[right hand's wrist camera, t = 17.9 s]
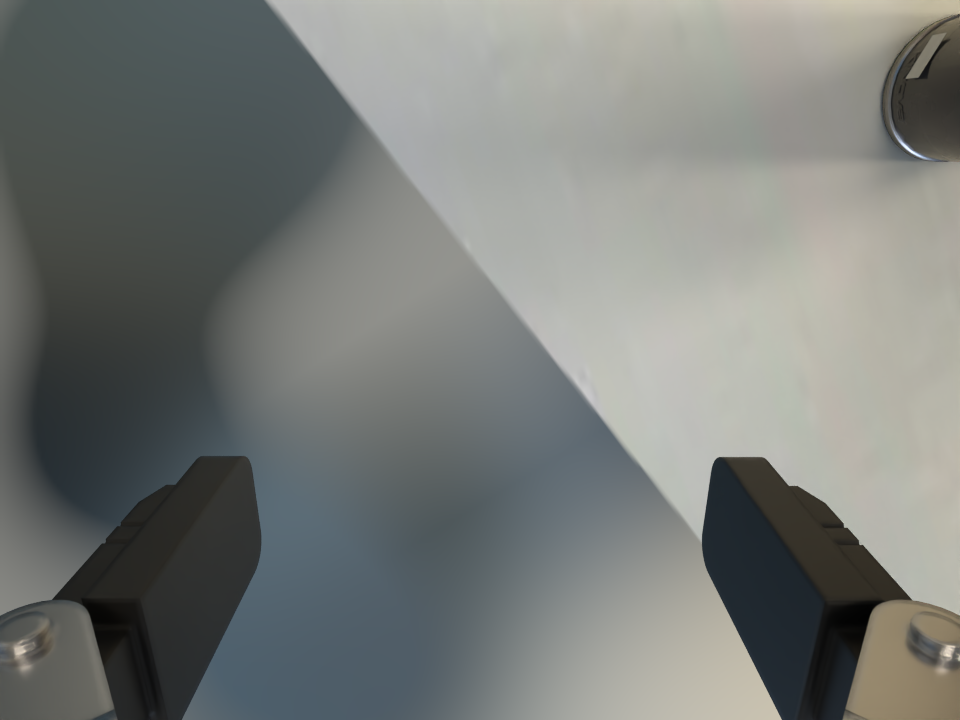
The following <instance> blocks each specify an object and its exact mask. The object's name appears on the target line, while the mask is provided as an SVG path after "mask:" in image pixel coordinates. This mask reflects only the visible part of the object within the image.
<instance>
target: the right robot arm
mask: <svg viewBox="0 0 960 720" xmlns="http://www.w3.org/2000/svg"><path fill="white" fill-rule="evenodd" d="M883 117H884V121H885V125H886V128H887V130H888V133H889V135H890V136H891V138H892V140H893V141H894V142H895V143H896V145H897V146H898V147H899V148H900V149H902V150H903V151H904V152H906V153H907V154H909V155H911V156H913V157H915V158H919V159H922V160H927V161H938V162H948V161H954V162H960V14H958V15H954V16H950V17H947V18H944V19H942V20H940V21H937V22H936V23H934V24H932V25H930V26H929V27H927V28H926V29H924V30H923V31H922V32H920V33H919V34H918V35H917V36H916V37H914V38H913V39H912V40H911V41H910V42H909V44H908V45H907V46H906V47H905V48H904V49H903V51H902V52H901V53H900V55H899V56H898V58H897V59H896V61H895V63H894V65H893V66H892V69H891V71H890V73H889V76H888V78H887V81H886V85H885V89H884V94H883ZM702 550H703V557H704V562H705V566H706V568H707V571H708V573H709V575H710V577H711V579H712V581H713V583H714V585H715V587H716V589H717V591H718V593H719V595H720V597H721V599H722V601H723V603H724V605H725V607H726V609H727V611H728V613H729V615H730V617H731V619H732V621H733V623H734V625H735V627H736V629H737V631H738V633H739V635H740V637H741V639H742V641H743V643H744V645H745V647H746V649H747V651H748V653H749V655H750V657H751V659H752V661H753V663H754V665H755V667H756V669H757V671H758V673H759V675H760V677H761V679H762V681H763V683H764V685H765V687H766V689H767V691H768V693H769V695H770V697H771V699H772V701H773V703H774V705H775V707H776V709H777V711H778V713H779V715H780V717H781V719H782V720H960V616H959V615H957V614H955V613H953V612H951V611H948V610H946V609H943V608H941V607H938V606H935V605H931V604H928V603H923V602H919V601H913V600H912V599H911V598H910V597H909V596H908V595H907V594H906V593H905V592H904V590H903V589H902V588H901V587H900V586H899V585H898V584H897V583H896V581H895V580H894V579H893V578H892V577H891V576H890V575H889V574H888V573H887V571H886V570H885V569H884V568H883V567H882V566H881V565H880V564H879V563H878V561H877V560H876V559H875V558H874V557H873V556H872V555H871V554H870V553H869V551H868V550H867V549H866V548H865V547H864V546H863V545H859V540H858V539H857V538H856V537H855V536H854V535H853V534H852V532H851V531H850V530H849V529H848V528H844V524H843V522H842V521H841V520H840V519H839V518H838V517H837V516H836V515H835V514H834V512H833V511H832V510H831V509H830V508H829V507H828V506H827V505H826V503H824V502H822V501H821V500H819V499H818V498H816V497H814V496H813V495H811V494H809V493H808V492H806V491H805V490H803V489H801V488H800V487H798V486H788V485H787V483H786V482H785V481H784V480H783V479H782V477H781V476H780V475H779V474H778V473H777V471H776V470H775V469H774V468H773V467H772V466H771V464H770V463H769V462H768V461H767V460H766V459H765V458H763V457H719V458H717V459H716V460H715V461H714V463H713V466H712V471H711V477H710V484H709V491H708V498H707V505H706V512H705V519H704V526H703V533H702ZM260 551H261V529H260V522H259V515H258V508H257V501H256V494H255V487H254V480H253V473H252V467H251V464H250V461H249V459H248V458H247V457H245V456H201V457H199V458H198V459H197V460H196V461H195V462H194V463H193V464H192V466H191V467H190V468H189V469H188V470H187V472H186V473H185V474H184V475H183V476H182V478H181V479H180V480H179V481H178V482H177V484H176V485H166V486H164V487H162V488H161V489H159V490H158V491H156V492H154V493H153V494H151V495H149V496H148V497H146V498H145V499H143V500H141V501H140V502H139V503H138V504H137V505H136V506H135V507H134V508H133V509H132V510H131V512H130V513H129V514H128V515H127V516H126V517H125V518H124V519H123V521H122V522H121V526H117V527H116V528H115V530H114V531H113V532H112V533H111V534H110V535H109V536H108V537H107V538H106V543H105V544H101V545H100V546H99V548H98V549H97V550H96V551H95V552H94V553H93V554H92V555H91V556H90V558H89V559H88V560H87V561H86V562H85V563H84V564H83V565H82V567H81V568H80V569H79V570H78V571H77V572H76V573H75V575H74V576H73V577H72V578H71V579H70V580H69V581H68V582H67V583H66V585H65V586H64V587H63V588H62V589H61V590H60V591H59V592H58V594H57V595H56V596H55V597H54V598H53V599H52V600H49V601H41V602H37V603H33V604H29V605H25V606H22V607H19V608H17V609H14V610H12V611H9V612H7V613H5V614H3V615H1V616H0V720H182V718H183V716H184V714H185V712H186V710H187V708H188V706H189V704H190V702H191V700H192V698H193V696H194V694H195V692H196V690H197V688H198V686H199V684H200V682H201V680H202V678H203V676H204V674H205V671H206V670H207V668H208V666H209V663H210V662H211V660H212V658H213V656H214V653H215V651H216V649H217V647H218V645H219V643H220V641H221V639H222V637H223V635H224V633H225V631H226V629H227V627H228V625H229V623H230V621H231V619H232V617H233V615H234V613H235V611H236V609H237V607H238V605H239V603H240V601H241V599H242V597H243V595H244V593H245V591H246V589H247V587H248V585H249V583H250V581H251V579H252V577H253V575H254V573H255V571H256V568H257V565H258V562H259V558H260Z"/></svg>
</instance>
